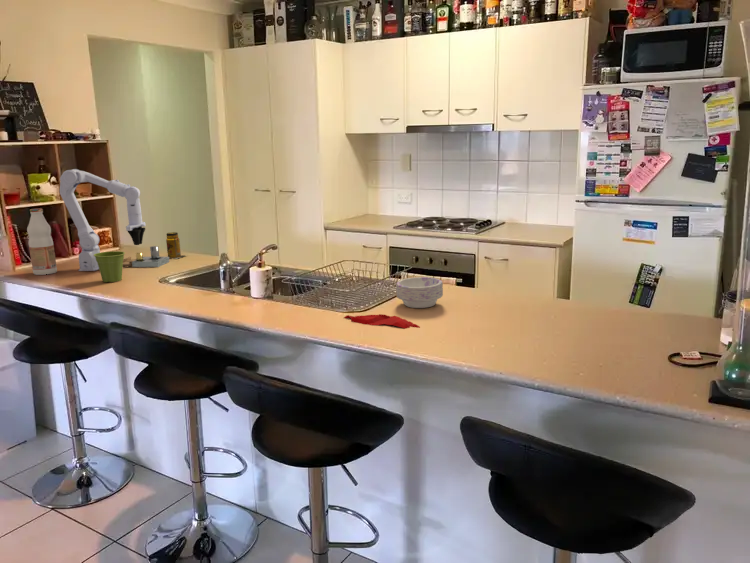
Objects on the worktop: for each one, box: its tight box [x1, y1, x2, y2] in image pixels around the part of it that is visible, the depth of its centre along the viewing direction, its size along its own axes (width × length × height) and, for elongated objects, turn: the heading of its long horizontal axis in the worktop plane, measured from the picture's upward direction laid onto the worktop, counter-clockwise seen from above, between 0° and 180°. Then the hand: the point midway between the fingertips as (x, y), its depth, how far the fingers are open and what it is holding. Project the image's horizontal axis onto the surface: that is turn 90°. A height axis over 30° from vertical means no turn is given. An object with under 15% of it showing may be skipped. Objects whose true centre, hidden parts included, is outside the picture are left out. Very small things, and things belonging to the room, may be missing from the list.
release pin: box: [135, 251, 144, 261], centre depth 284 cm, size 3×3×4 cm
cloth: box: [343, 313, 421, 329], centre depth 190 cm, size 26×14×2 cm, turn 50°
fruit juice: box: [26, 208, 58, 276], centre depth 271 cm, size 9×9×28 cm
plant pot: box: [94, 250, 126, 283], centre depth 255 cm, size 12×12×11 cm
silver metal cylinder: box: [149, 245, 160, 260], centre depth 288 cm, size 4×4×8 cm
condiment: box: [165, 231, 187, 260], centre depth 303 cm, size 7×8×12 cm
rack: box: [122, 256, 137, 268], centre depth 289 cm, size 12×7×2 cm, turn 174°
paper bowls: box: [395, 276, 444, 309], centre depth 207 cm, size 15×15×8 cm
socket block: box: [132, 256, 170, 268], centre depth 287 cm, size 12×12×2 cm
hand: (138, 244), depth 282 cm, fingers closed
